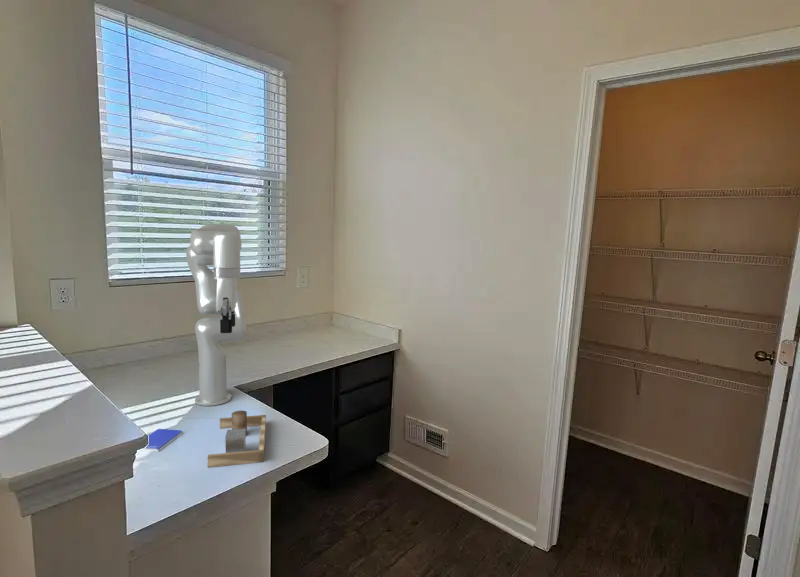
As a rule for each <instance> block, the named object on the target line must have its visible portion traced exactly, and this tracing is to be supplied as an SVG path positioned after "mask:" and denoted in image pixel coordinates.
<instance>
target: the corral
mask: <svg viewBox="0 0 800 577" xmlns="http://www.w3.org/2000/svg"><path fill="white" fill-rule="evenodd" d="M257 426H260V433H259V446H258V449H256V450H255V449H254V450H245V451H243V452H232V453H226V452H223V453H222V452H221V453H212V454H208V455H207V468H216V467H217V468H218V467H226V466H236V465H237V466H238V465H245V464H246V465H247V464H248V465H249V464H255V463H264V459H265V458H264V456H265V444H266V432H267V431H266V428H267V414H260V415H247V427H257ZM219 429H221V430H222V429H232V416H230V417H220V418H219Z"/></svg>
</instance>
